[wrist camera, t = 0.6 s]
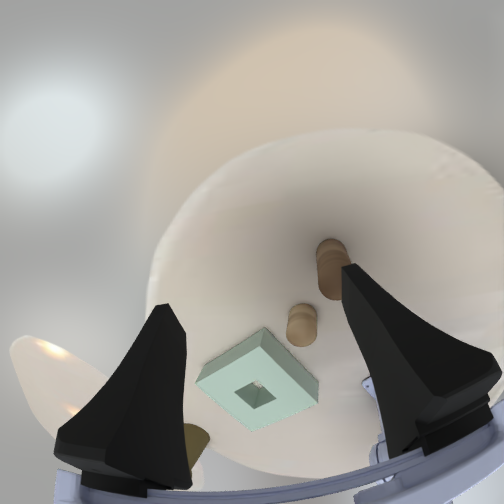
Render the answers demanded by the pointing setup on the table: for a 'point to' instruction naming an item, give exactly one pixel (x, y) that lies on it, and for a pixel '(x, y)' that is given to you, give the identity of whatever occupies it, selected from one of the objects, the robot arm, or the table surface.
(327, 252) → the long pin
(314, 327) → the short pin
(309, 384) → the collar block
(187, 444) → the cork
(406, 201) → the table surface
